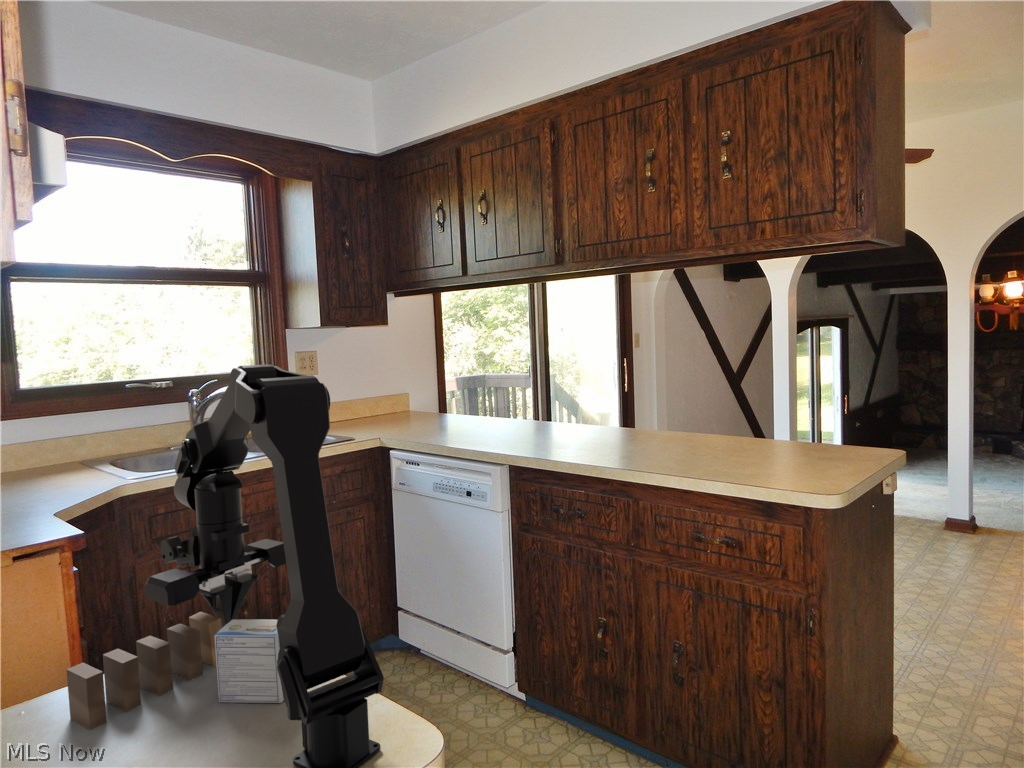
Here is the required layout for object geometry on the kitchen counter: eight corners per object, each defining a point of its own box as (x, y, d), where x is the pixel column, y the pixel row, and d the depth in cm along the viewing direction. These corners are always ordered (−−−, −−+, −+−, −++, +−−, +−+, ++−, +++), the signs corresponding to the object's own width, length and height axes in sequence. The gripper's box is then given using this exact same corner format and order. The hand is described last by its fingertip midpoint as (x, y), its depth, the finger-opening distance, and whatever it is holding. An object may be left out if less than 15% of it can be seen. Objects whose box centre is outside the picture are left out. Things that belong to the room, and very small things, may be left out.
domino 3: (153, 680, 86) (150, 635, 85) (173, 689, 83) (170, 643, 83) (139, 687, 84) (136, 641, 84) (159, 696, 82) (155, 649, 81)
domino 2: (121, 695, 82) (117, 648, 82) (141, 705, 80) (137, 656, 80) (106, 702, 81) (102, 654, 80) (126, 712, 79) (122, 663, 78)
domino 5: (206, 652, 93) (200, 611, 92) (225, 659, 91) (220, 617, 90) (194, 658, 91) (188, 617, 91) (214, 666, 89) (208, 624, 88)
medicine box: (296, 685, 84) (293, 618, 83) (281, 705, 79) (277, 634, 79) (236, 684, 84) (231, 617, 84) (217, 704, 80) (213, 633, 79)
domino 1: (87, 711, 79) (83, 662, 79) (106, 721, 77) (102, 671, 76) (70, 719, 77) (66, 669, 77) (90, 730, 75) (85, 678, 75)
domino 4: (182, 666, 89) (179, 623, 89) (202, 675, 87) (199, 630, 86) (169, 672, 88) (166, 628, 87) (189, 681, 85) (186, 636, 85)
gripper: (242, 497, 103) (248, 595, 104) (117, 529, 87) (126, 644, 89) (290, 505, 97) (296, 609, 98) (166, 541, 81) (174, 664, 83)
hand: (226, 629), depth 92 cm, fingers closed
